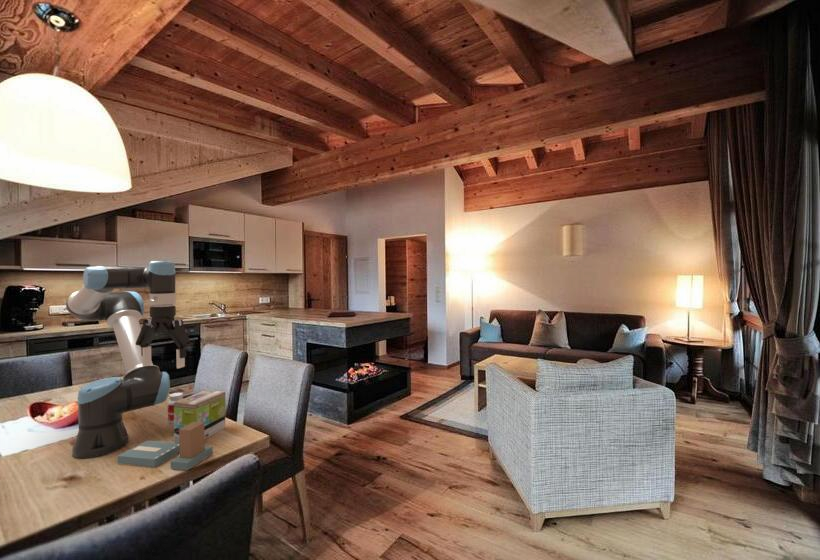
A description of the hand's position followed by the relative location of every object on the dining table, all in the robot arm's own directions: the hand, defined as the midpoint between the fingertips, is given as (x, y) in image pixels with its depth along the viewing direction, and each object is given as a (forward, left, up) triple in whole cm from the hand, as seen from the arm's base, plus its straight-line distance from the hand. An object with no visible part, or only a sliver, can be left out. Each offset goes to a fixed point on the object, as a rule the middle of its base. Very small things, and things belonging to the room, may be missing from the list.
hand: (163, 366), depth 128 cm
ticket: (+1, -7, -29) cm, 29 cm away
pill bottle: (-15, +21, -29) cm, 39 cm away
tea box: (+5, +11, -29) cm, 31 cm away
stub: (+17, -7, -29) cm, 34 cm away
